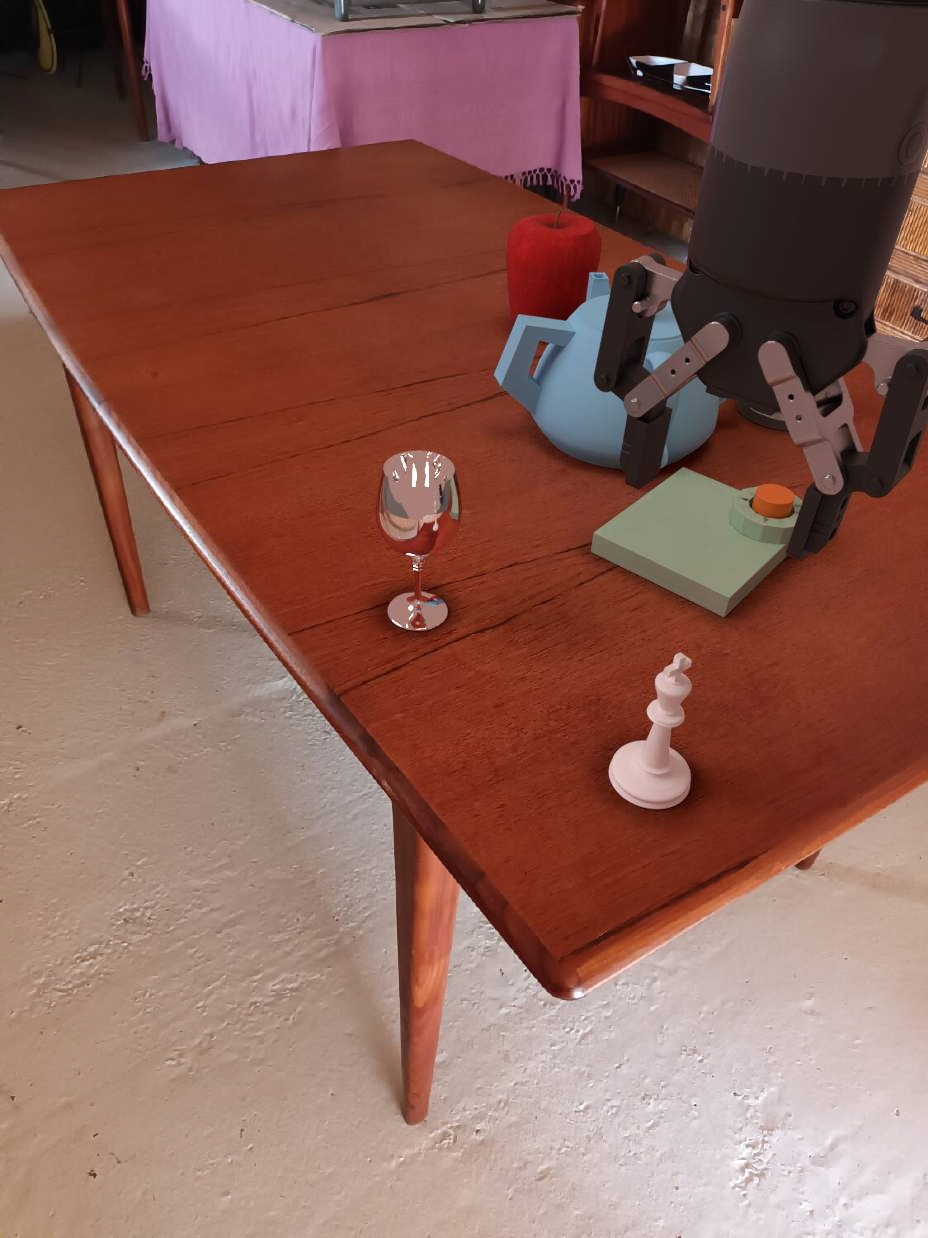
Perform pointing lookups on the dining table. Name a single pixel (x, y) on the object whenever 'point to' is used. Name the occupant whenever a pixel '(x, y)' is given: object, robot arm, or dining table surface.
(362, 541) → the dining table surface
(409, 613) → the wineglass
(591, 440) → the teapot
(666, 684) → the chess piece
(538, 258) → the apple
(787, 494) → the button
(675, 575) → the orange button base
